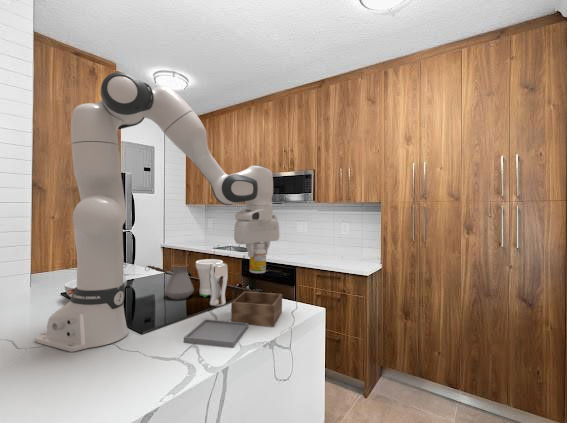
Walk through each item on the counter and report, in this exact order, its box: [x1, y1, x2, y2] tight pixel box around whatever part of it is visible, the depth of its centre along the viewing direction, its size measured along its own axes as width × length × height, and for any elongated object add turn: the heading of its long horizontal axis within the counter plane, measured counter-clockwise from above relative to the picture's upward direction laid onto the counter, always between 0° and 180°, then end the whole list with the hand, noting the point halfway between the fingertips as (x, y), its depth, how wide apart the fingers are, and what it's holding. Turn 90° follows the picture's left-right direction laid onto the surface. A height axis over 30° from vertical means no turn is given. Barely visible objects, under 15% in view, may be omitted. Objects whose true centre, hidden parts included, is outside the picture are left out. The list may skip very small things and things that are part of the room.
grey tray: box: [183, 318, 249, 349], centre depth 88 cm, size 14×14×1 cm
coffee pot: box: [144, 263, 195, 301], centre depth 120 cm, size 21×12×15 cm, turn 151°
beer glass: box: [209, 262, 229, 307], centre depth 117 cm, size 7×7×15 cm
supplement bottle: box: [249, 242, 267, 274], centre depth 103 cm, size 5×5×10 cm
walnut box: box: [230, 290, 283, 328], centre depth 103 cm, size 14×14×6 cm
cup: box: [195, 258, 224, 298], centre depth 128 cm, size 11×11×14 cm
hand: (257, 255), depth 103 cm, fingers closed on supplement bottle, 5 cm apart
